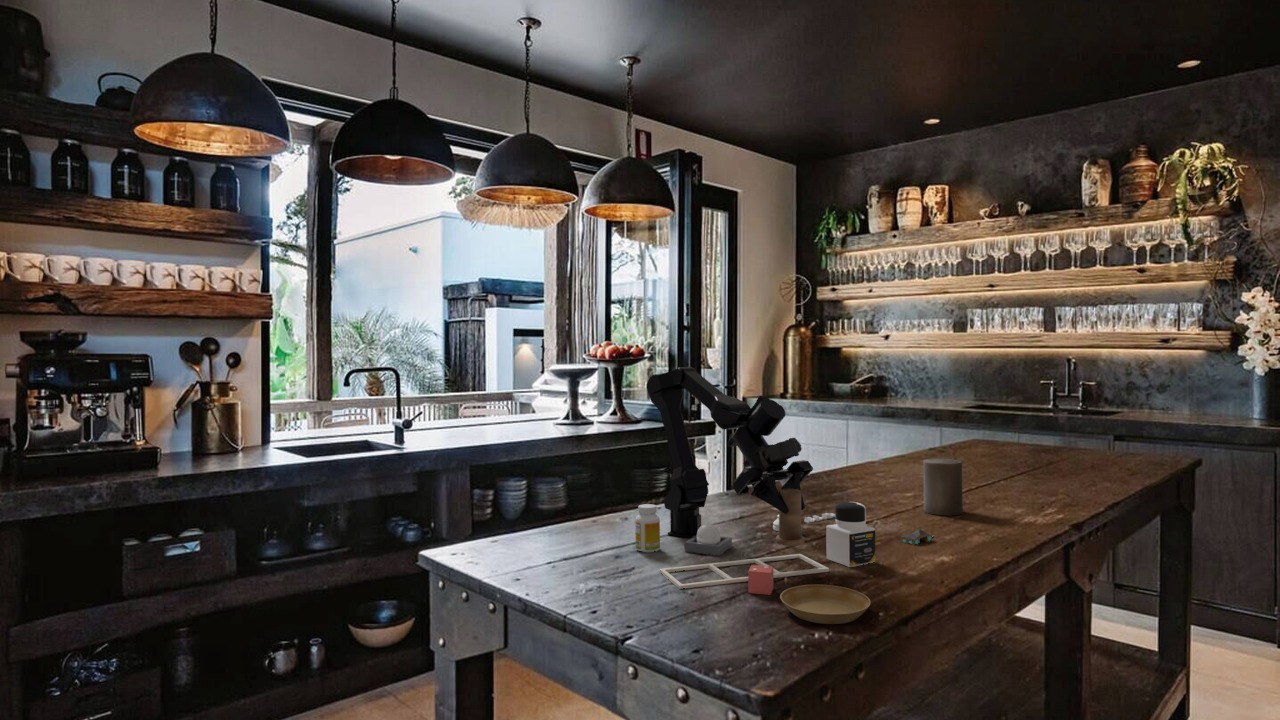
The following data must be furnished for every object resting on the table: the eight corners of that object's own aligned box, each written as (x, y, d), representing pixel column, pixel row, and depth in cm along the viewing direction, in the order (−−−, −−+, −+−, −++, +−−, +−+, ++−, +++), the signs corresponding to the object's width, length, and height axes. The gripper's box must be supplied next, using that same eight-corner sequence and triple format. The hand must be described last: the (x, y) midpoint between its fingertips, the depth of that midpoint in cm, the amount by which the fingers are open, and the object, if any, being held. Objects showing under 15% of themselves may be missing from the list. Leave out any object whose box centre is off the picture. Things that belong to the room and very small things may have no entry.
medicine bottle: (849, 567, 151) (849, 508, 150) (825, 559, 157) (825, 501, 157) (876, 562, 154) (876, 504, 154) (851, 554, 160) (851, 498, 160)
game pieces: (764, 513, 202) (763, 492, 202) (797, 507, 209) (797, 486, 209) (909, 550, 165) (909, 523, 165) (943, 540, 172) (943, 515, 172)
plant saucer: (815, 636, 116) (815, 619, 116) (763, 606, 130) (763, 591, 130) (890, 621, 122) (890, 605, 122) (832, 594, 136) (832, 579, 136)
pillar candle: (968, 516, 194) (968, 458, 194) (931, 516, 194) (930, 458, 194) (953, 508, 204) (953, 453, 204) (917, 508, 204) (917, 453, 204)
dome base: (684, 551, 164) (684, 542, 164) (698, 542, 171) (698, 533, 171) (719, 555, 160) (719, 546, 160) (731, 546, 167) (731, 537, 167)
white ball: (693, 548, 164) (692, 525, 164) (702, 542, 169) (701, 520, 169) (715, 551, 162) (715, 527, 162) (723, 545, 166) (723, 522, 166)
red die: (748, 592, 136) (748, 570, 136) (751, 586, 140) (751, 564, 140) (770, 594, 135) (770, 572, 135) (773, 587, 138) (773, 565, 138)
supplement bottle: (663, 547, 167) (663, 504, 166) (654, 554, 162) (653, 509, 162) (641, 545, 169) (641, 502, 169) (631, 551, 164) (631, 507, 164)
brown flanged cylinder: (772, 543, 150) (772, 491, 150) (780, 537, 155) (780, 487, 155) (800, 547, 148) (800, 494, 148) (807, 540, 153) (807, 489, 153)
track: (679, 589, 138) (679, 585, 138) (659, 572, 149) (659, 569, 149) (829, 571, 148) (829, 568, 148) (800, 556, 159) (800, 553, 159)
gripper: (742, 428, 149) (784, 492, 140) (806, 422, 160) (848, 481, 151) (716, 463, 155) (754, 526, 147) (779, 455, 166) (817, 513, 158)
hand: (795, 510), depth 150 cm, fingers closed on brown flanged cylinder, 4 cm apart
